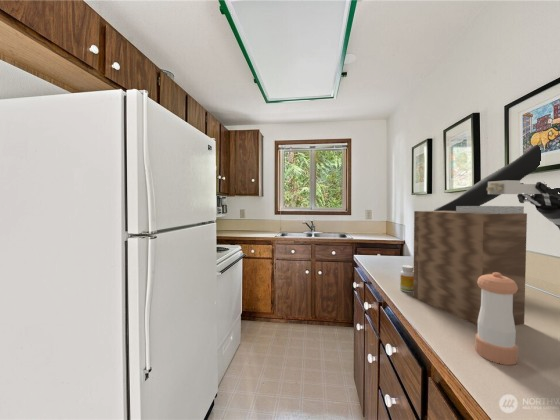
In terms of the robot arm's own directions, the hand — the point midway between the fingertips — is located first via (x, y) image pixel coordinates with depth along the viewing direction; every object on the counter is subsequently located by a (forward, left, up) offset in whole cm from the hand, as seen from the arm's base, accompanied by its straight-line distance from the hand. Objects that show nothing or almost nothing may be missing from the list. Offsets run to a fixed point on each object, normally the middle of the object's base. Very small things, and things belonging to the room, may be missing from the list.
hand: (528, 185), depth 81 cm
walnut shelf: (-6, -21, -41) cm, 46 cm away
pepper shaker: (+15, -38, -41) cm, 58 cm away
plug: (0, -5, -3) cm, 5 cm away
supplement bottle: (-25, -25, -41) cm, 54 cm away
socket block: (+1, -20, -9) cm, 22 cm away
